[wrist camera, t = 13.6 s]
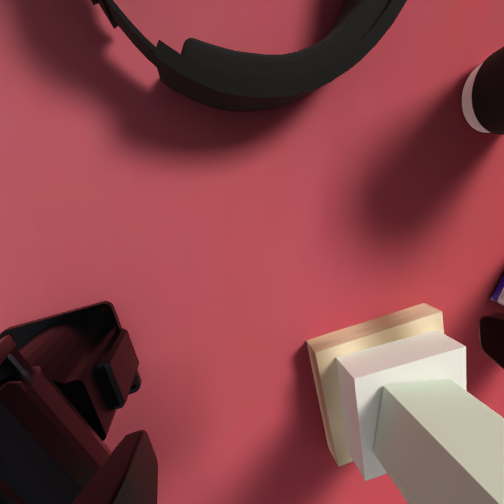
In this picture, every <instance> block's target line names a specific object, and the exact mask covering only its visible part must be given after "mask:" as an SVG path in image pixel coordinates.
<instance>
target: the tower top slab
mask: <svg viewBox="0 0 504 504" xmlns="http://www.w3.org/2000/svg"><path fill="white" fill-rule="evenodd" d="M336 364H337V372H338V380H339V388H340V397H341V405H342V413H343V421H344V429H345V437H346V445H347V451H348V453H349V454H350V456H351V458H352V459H353V461H354V463H355V465H356V466H357V468H358V470H359V471H360V473H361V475H362V476H363V478H364V480H365V481H367V480H370V479H373V478H375V477H378V476H381V475H384V474H387V472H386V470H385V469H384V468H383V466H382V465H381V463H380V462H379V460H378V459H377V457H376V456H375V455H374V453H373V452H374V445H375V439H376V433H377V426H378V420H379V413H380V407H381V401H382V394H383V388H384V386H389V385H399V384H409V383H419V382H429V381H438V380H448V379H451V380H452V381H453V382H455V383H456V384H458V385H459V386H460V387H462V388H463V389H464V390H466V346H464V345H463V344H461V343H459V342H457V341H456V340H454V339H452V338H450V337H448V336H447V335H445V334H443V333H441V332H440V331H438V330H433V331H429V332H425V333H422V334H418V335H415V336H411V337H407V338H404V339H400V340H396V341H393V342H389V343H386V344H382V345H378V346H375V347H371V348H367V349H364V350H360V351H357V352H353V353H349V354H346V355H342V356H338V357H336Z"/></svg>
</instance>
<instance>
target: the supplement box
mask: <svg viewBox="0 0 504 504" xmlns="http://www.w3.org/2000/svg"><path fill="white" fill-rule="evenodd" d="M490 299H491V300H493V301H494V302H497V303H499V304H501V305H503V306H504V275H503V276H502V278H501V280H500V282H499V283H498V285H497V287H496V289H495V291H494V293H493V294H492V296H491V298H490Z"/></svg>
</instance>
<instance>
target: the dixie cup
mask: <svg viewBox="0 0 504 504" xmlns="http://www.w3.org/2000/svg"><path fill="white" fill-rule="evenodd" d="M462 110H463V114H464V117H465V119H466V120H467V122H468V123H469V125H470V126H471V127H472V128H474V129H475V130H477V131H479V132H483V133H490V132H491V133H494V134H504V47H503V48H501V49H499V50H498V51H496V52H494V53H493V54H492V55H490V56H489V57H488V58H487V59H486V60H485V61H484V62H483V63H482V64H481V65H479V66H478V67H476V68H475V69H474V70H473V71H472V73H471V74H470V75H469V77H468V78H467V80H466V82H465V85H464V88H463V92H462Z"/></svg>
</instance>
